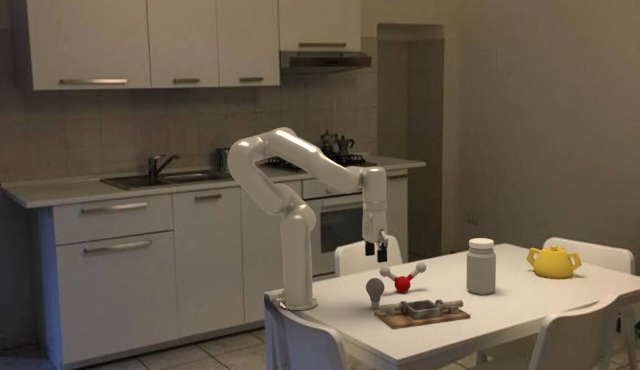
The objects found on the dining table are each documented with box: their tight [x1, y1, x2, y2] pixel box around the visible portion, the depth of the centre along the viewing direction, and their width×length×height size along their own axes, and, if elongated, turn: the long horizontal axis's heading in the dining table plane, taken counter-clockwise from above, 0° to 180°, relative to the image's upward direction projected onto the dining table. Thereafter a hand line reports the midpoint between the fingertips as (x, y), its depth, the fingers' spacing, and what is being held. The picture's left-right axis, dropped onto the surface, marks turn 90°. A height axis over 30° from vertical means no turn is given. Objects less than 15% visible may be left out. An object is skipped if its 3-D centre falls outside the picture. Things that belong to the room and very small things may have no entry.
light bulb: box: [365, 277, 385, 310], centre depth 230 cm, size 6×6×10 cm
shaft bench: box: [373, 299, 471, 330], centre depth 221 cm, size 26×14×5 cm, turn 109°
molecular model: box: [379, 261, 427, 293], centre depth 247 cm, size 18×6×10 cm, turn 117°
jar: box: [465, 237, 497, 296], centre depth 245 cm, size 10×10×18 cm
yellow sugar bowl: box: [526, 244, 582, 280], centre depth 267 cm, size 20×18×11 cm
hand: (376, 258), depth 228 cm, fingers open, 9 cm apart
